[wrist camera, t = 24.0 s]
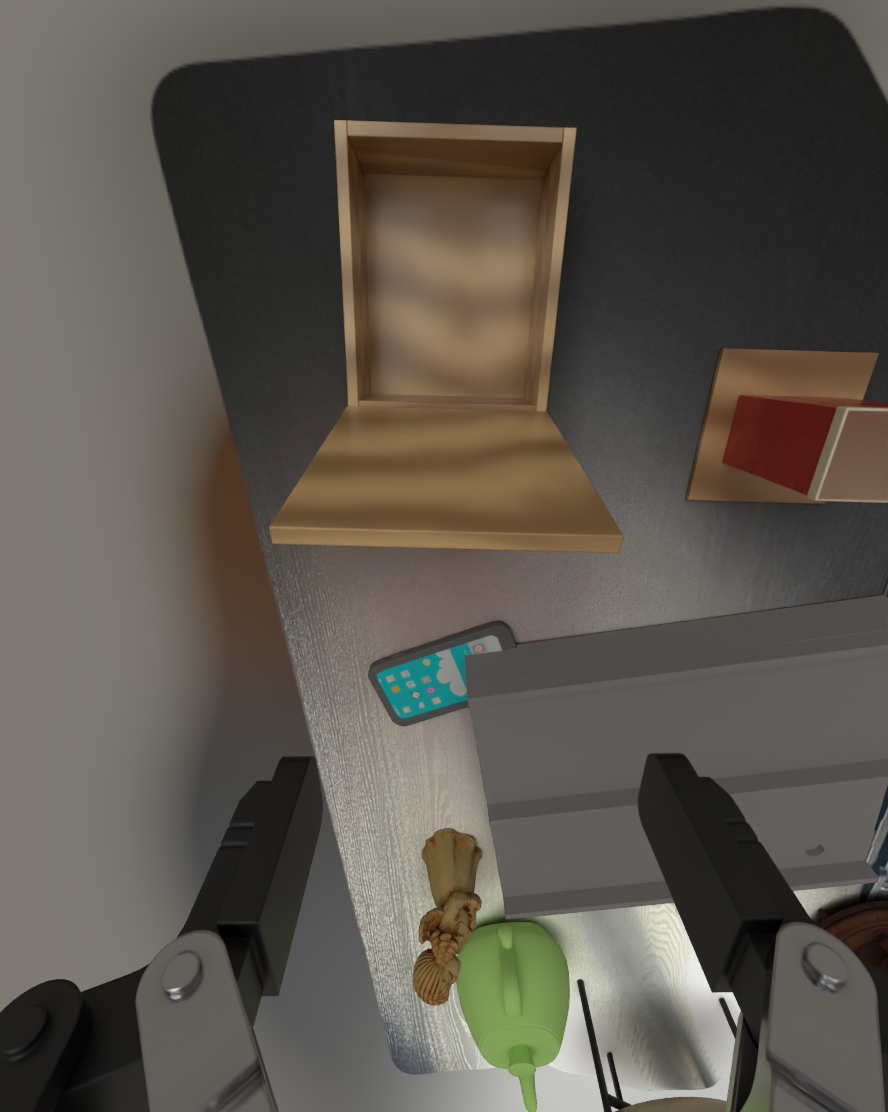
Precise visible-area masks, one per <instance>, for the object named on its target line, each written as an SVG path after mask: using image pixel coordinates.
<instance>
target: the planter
mask: <svg viewBox="0 0 888 1112" xmlns="http://www.w3.org/2000/svg"><path fill="white" fill-rule="evenodd" d="M577 983H578V988H579V993H580V997H581V1002H582V1007H583V1012H584V1016H585V1021H586V1026H587V1031H588V1036H589V1040H590V1045H591V1050H592V1055H593V1060H594V1064H595V1069H596V1074H597V1079H598V1083H599V1088H600V1093H601V1098H602V1102H603V1107H604V1112H612V1110H611V1106H612V1107H614V1108H616V1109H619V1110H618V1111H615V1112H725V1111H726V1104H727V1101H723V1100H719V1099H711V1098H702V1097H674V1098H664V1099H657V1100H651V1101H646V1102H642V1103H638V1104H634V1105H631V1104H628V1103H626V1102H624V1101H623V1099H622V1094H621V1090H620V1086H619V1082H618V1077H617V1073H616V1069H615V1065H614V1061H613V1056H612V1053H609V1052H608V1054H607V1057H608V1062H609V1066H610V1071H611V1075H612V1079H613V1084H614V1088H615V1092H616V1097H617V1098H616V1097H614V1096H611V1095H609V1094H608V1092H607V1087H606V1083H605V1078H604V1074H603V1069H602V1064H601V1060H600V1055H599V1051H598V1046H597V1042H596V1037H595V1032H594V1028H593V1023H592V1019H591V1014H590V1010H589V1005H588V1000H587V996H586V991H585V987H584V982H583V981H582V980H578V981H577ZM719 1002H720V1004H721V1007H722V1009H723V1011H724V1014H725V1016H726V1018H727V1021H728V1023H729V1026H730V1028H731V1030H732V1033H733V1035H734V1037H735V1039H736V1032H737V1027H736V1025H735V1022H734V1020H733V1018H732V1016H731V1013H730V1011H729V1009H728V1006H727V1004H726V1002H725V999H723V998H722V999H719Z"/></svg>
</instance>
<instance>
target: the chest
mask: <svg viewBox="0 0 888 1112" xmlns="http://www.w3.org/2000/svg"><path fill="white" fill-rule="evenodd" d="M334 129H335V149H336V169H337V189H338V209H339V229H340V249H341V269H342V289H343V309H344V329H345V349H346V369H347V389H348V406H364V407H399V408H435V409H470V410H505V411H540V412H546V409H547V400H548V390H549V381H550V372H551V362H552V353H553V344H554V335H555V325H556V316H557V307H558V297H559V288H560V279H561V269H562V260H563V251H564V241H565V232H566V223H567V213H568V204H569V195H570V186H571V176H572V167H573V158H574V148H575V139H576V130H577V129H576V128H558V127H528V126H498V125H468V124H438V123H408V122H378V121H346V120H334Z"/></svg>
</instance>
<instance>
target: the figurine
mask: <svg viewBox="0 0 888 1112" xmlns="http://www.w3.org/2000/svg"><path fill="white" fill-rule="evenodd" d="M475 845H476V841H475V840H474V839H473V838H472V837H471V836H469V835H468V834H462V833H458V832H456V831H455V830H453V829H443V830H439V831H437V832H435V834H434V836H433V837H431V838H429V839H427V840H426V844H425V848H424V849H423V851H422V858H423V860H424V861H425V864H426V866H427V870H428V876H429V882H430V887H431V892H432V896H433V899H434V902H435V904H436V906H437V908H434V909H432V910H430V911H428V912H427V914H426V915H424V916H423V917H422V919H421V921H420V926H419V942H420V943H421V944H423V943H424V942H425V941H426V940H428V941H430V942H431V946H432V949H427V950H425V951H423V952H422V953H421V954H420V955H419V956H418V958H417V961H416V963H415V966H414V971H413V985H414V989H415V992H417V995H418V997H420V998H421V999H422V1000H423V1001H424V1002H426V1003H427V1004H430V1005H433V1006H434V1005H440V1004H443V1003H445V1002H446V1001H447V1000H448V998H449V991H450V987H451V985H452V984H453V983H454V982H455V981H456V980H457V978H458V974H459V970H460V967H461V962H460V960H459V959H458V958H457V957H456V956H455V954H458V953H460V952H461V951H462V950H463V948H464V947H465V945H466V943H467V941H468V939H469V937H470V936H471V935H473V932H474V931H473V930H474V927H475V920H476V912H477V911H478V910H480V908H481V902H482V901H481V899H480V897H479V896H478V895H477V894H476V893H474V889H475V880H476V870H477V865H478V862H479V860H480V859H481V857H482V853H481V851H480V850H479V849H478V848H477V847H476V846H475Z"/></svg>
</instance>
